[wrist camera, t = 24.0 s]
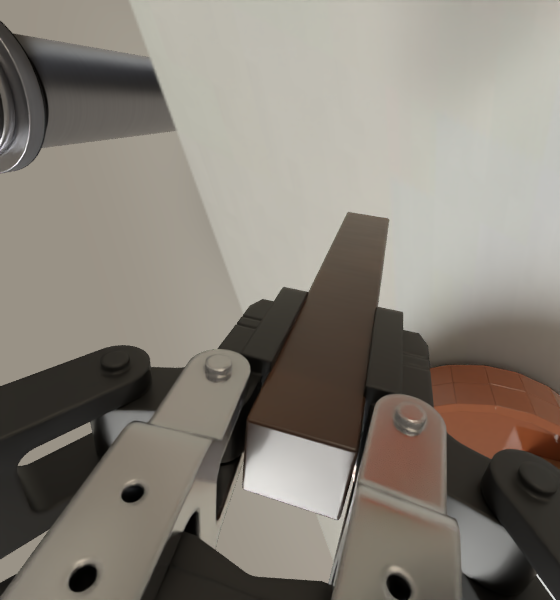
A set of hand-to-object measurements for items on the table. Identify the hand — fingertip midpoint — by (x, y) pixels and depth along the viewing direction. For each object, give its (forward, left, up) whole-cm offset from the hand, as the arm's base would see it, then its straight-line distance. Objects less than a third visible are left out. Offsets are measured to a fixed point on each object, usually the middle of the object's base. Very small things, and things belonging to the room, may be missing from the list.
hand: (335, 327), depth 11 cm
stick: (0, 0, -9) cm, 9 cm away
